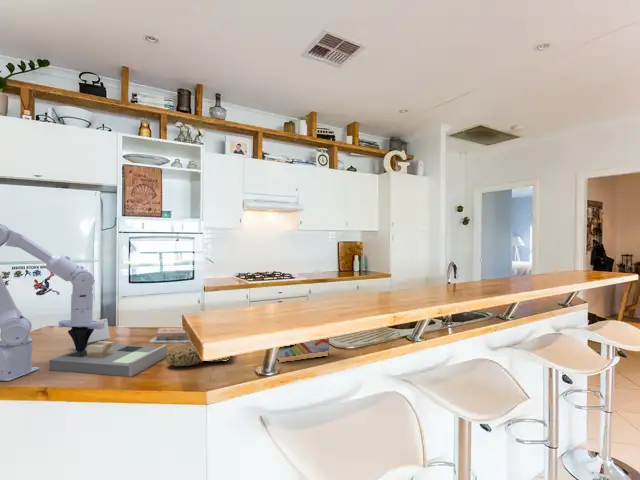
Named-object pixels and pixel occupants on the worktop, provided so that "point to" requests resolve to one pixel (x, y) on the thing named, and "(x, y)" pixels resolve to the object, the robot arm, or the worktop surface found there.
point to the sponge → (185, 356)
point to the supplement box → (98, 334)
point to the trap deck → (111, 360)
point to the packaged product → (170, 336)
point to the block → (100, 349)
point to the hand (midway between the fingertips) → (80, 350)
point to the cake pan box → (304, 348)
